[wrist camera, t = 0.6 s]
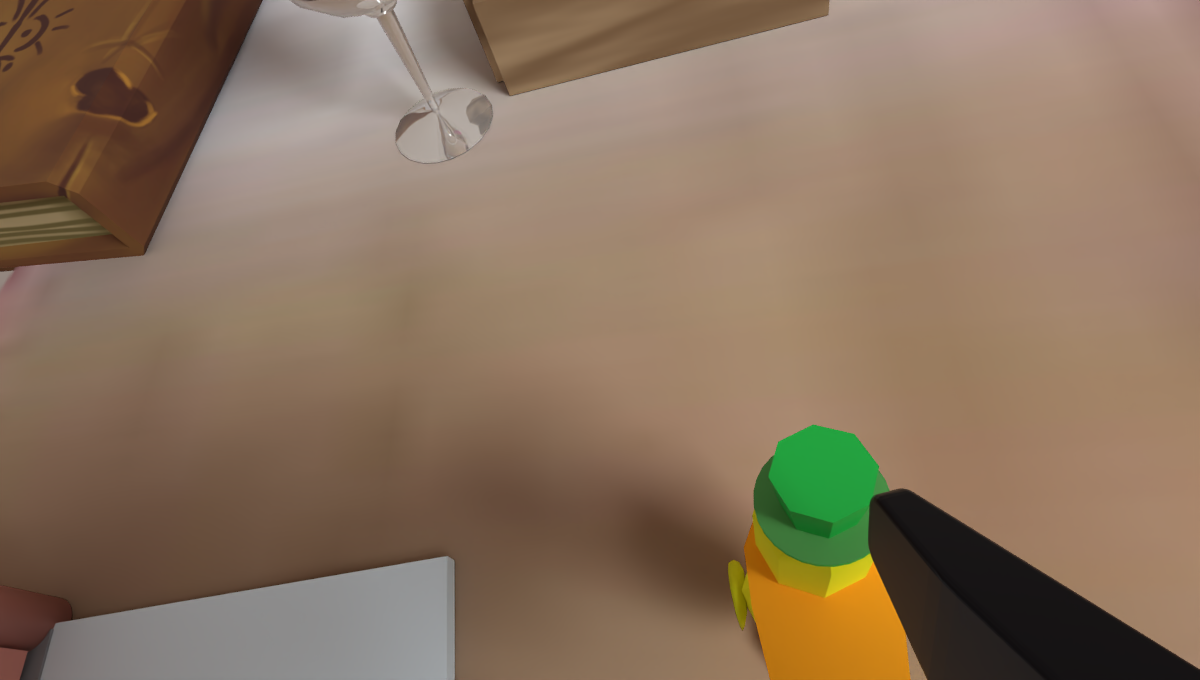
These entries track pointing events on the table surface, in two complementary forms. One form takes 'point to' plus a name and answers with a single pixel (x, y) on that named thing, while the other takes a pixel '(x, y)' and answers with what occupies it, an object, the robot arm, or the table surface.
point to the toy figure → (818, 565)
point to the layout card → (272, 633)
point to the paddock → (613, 32)
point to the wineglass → (437, 119)
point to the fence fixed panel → (25, 625)
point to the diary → (103, 117)
